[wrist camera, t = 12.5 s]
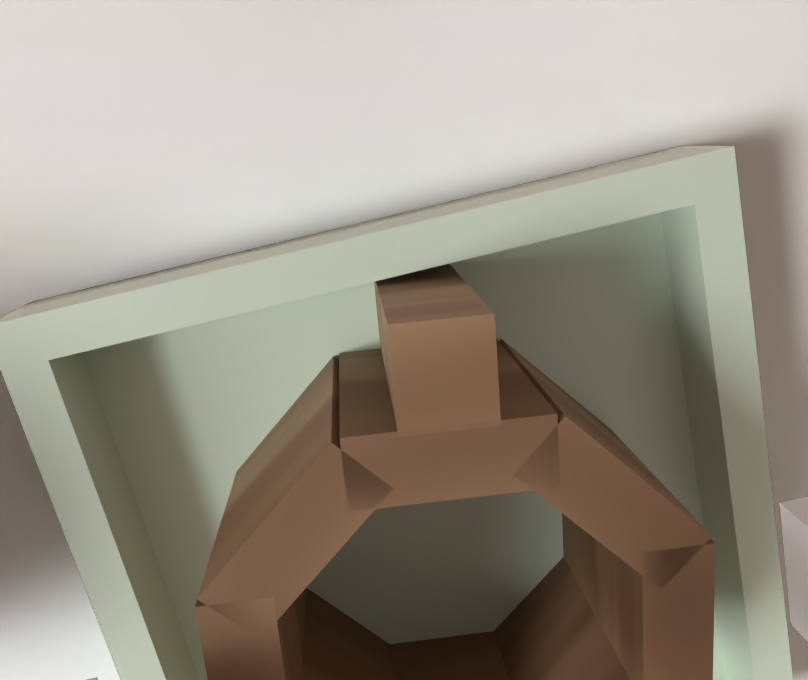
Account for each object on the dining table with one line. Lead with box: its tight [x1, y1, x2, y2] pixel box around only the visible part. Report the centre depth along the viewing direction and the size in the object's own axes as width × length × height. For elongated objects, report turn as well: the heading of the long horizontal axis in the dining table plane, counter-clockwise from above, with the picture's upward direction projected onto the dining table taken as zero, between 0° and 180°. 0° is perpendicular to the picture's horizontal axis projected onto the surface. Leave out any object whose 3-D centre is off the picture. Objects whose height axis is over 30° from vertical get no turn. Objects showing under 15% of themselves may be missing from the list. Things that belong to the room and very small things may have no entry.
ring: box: [195, 264, 716, 680], centre depth 17 cm, size 12×10×6 cm
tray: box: [0, 146, 793, 680], centre depth 19 cm, size 16×16×2 cm
